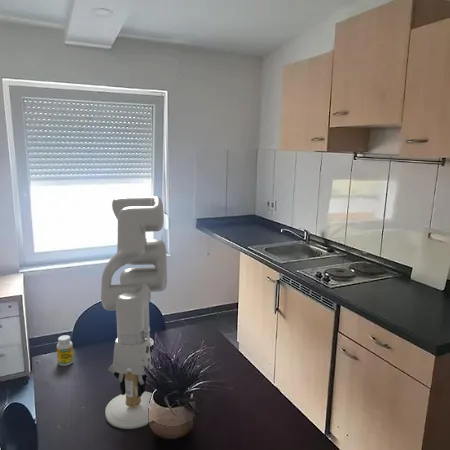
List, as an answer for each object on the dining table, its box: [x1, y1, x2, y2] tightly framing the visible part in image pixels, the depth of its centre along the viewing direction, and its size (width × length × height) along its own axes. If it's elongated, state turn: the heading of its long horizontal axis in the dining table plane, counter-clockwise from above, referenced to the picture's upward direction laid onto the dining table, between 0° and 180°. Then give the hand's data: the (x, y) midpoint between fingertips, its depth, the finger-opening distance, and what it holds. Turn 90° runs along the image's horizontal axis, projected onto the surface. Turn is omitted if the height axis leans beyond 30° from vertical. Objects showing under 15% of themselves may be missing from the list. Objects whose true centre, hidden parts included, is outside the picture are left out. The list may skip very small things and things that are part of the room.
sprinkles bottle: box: [125, 368, 141, 407], centre depth 119 cm, size 5×5×14 cm
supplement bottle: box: [56, 334, 75, 367], centre depth 146 cm, size 5×5×10 cm
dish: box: [104, 390, 153, 430], centre depth 121 cm, size 16×16×1 cm
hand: (133, 392), depth 120 cm, fingers closed on sprinkles bottle, 4 cm apart
